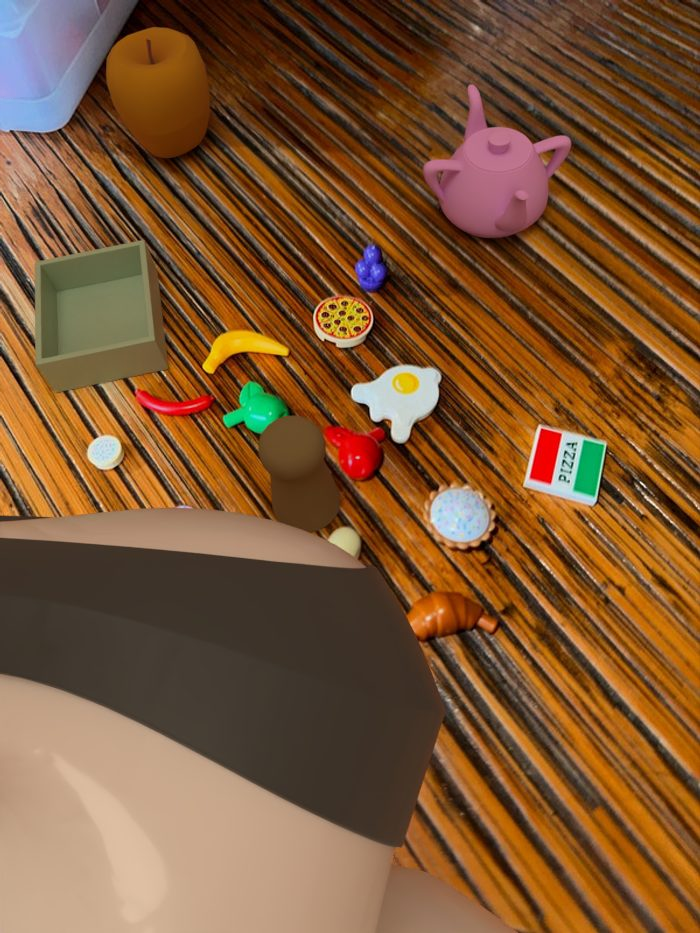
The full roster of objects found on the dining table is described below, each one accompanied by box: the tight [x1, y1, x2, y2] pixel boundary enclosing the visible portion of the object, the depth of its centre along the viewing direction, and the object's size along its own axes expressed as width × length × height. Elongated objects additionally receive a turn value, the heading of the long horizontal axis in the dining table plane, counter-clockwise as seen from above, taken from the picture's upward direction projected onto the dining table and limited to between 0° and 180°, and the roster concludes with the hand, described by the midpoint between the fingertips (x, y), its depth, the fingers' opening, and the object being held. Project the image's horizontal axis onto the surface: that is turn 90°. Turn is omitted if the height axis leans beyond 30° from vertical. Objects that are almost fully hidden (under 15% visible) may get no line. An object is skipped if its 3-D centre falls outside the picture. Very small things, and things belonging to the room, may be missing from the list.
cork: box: [257, 414, 341, 534], centre depth 62 cm, size 6×6×11 cm
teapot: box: [422, 84, 572, 239], centre depth 78 cm, size 12×14×9 cm
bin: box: [34, 239, 169, 394], centre depth 75 cm, size 13×11×5 cm
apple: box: [105, 26, 211, 159], centre depth 85 cm, size 11×11×13 cm
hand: (94, 764), depth 38 cm, fingers open, 8 cm apart
